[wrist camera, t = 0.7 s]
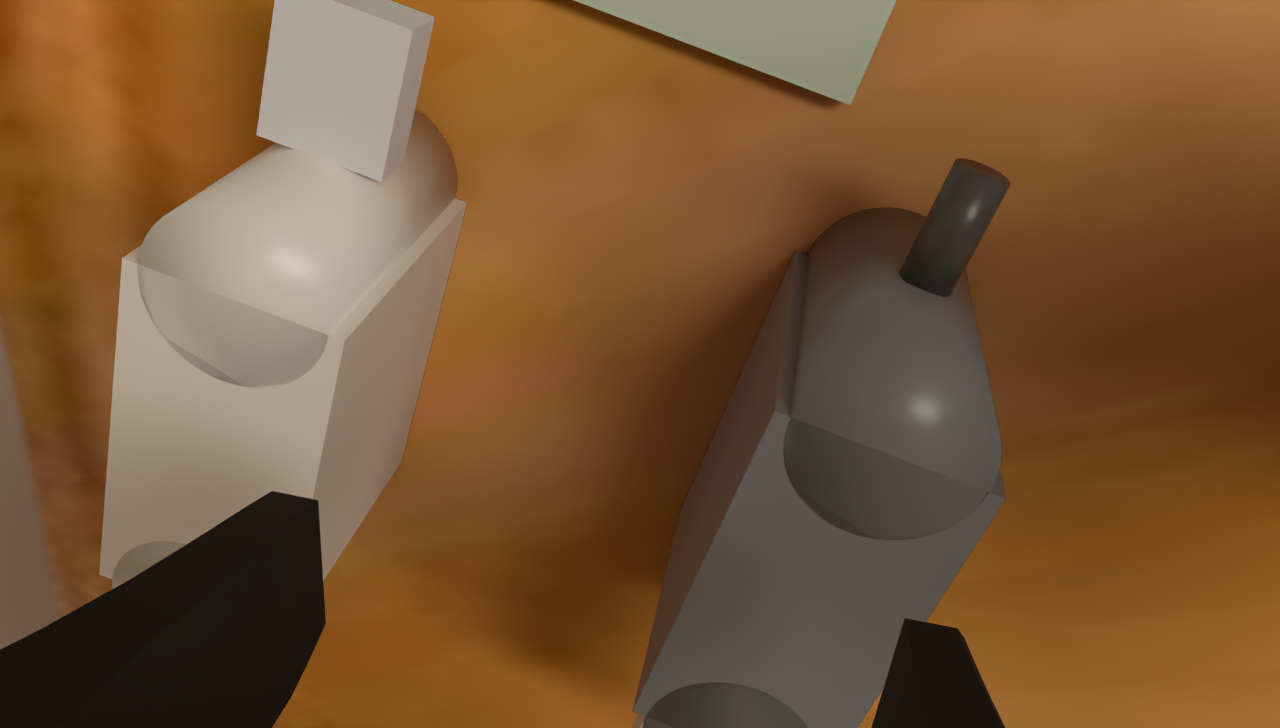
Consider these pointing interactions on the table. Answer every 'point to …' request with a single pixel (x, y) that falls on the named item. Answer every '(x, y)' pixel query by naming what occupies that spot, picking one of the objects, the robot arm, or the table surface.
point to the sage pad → (773, 35)
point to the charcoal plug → (835, 478)
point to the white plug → (287, 298)
